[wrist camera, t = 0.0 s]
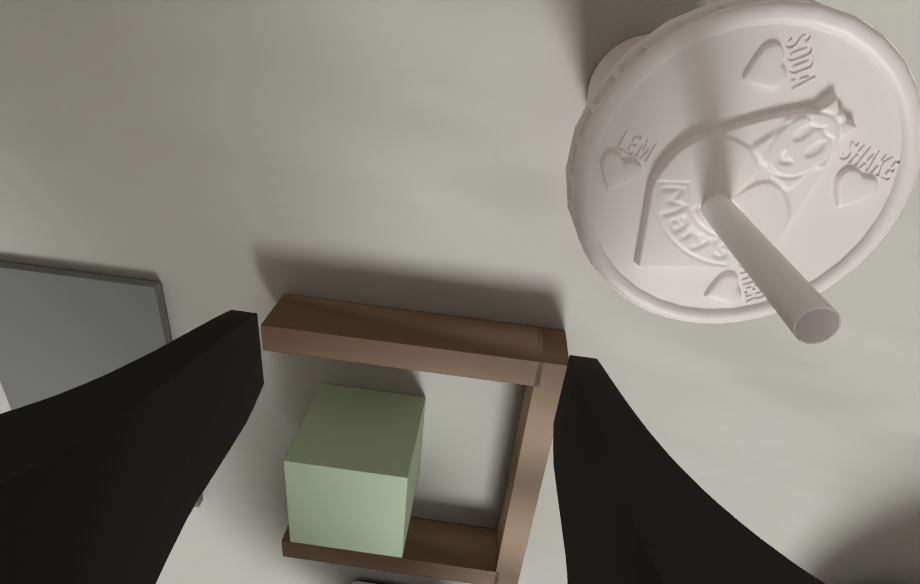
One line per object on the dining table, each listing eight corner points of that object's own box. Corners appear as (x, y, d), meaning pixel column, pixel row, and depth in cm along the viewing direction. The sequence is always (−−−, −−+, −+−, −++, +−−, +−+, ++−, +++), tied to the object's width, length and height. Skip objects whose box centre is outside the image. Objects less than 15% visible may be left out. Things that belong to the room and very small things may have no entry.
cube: (419, 470, 29) (402, 557, 25) (324, 457, 29) (290, 541, 25) (425, 396, 27) (407, 478, 22) (321, 382, 27) (283, 460, 22)
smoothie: (508, 92, 19) (490, 286, 7) (665, -65, 17) (1045, -172, 5) (624, 218, 21) (765, 541, 9) (782, 94, 19) (1273, 314, 7)
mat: (202, 499, 32) (198, 507, 31) (47, 477, 32) (41, 484, 31) (160, 282, 25) (154, 287, 24) (-38, 256, 25) (-47, 261, 24)
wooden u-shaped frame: (516, 547, 31) (516, 590, 29) (299, 515, 31) (282, 556, 29) (565, 330, 24) (569, 366, 22) (283, 294, 24) (260, 325, 22)
